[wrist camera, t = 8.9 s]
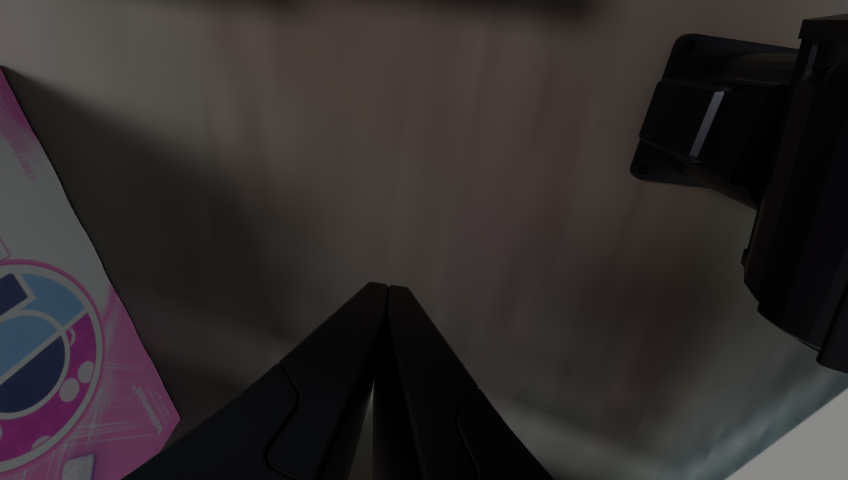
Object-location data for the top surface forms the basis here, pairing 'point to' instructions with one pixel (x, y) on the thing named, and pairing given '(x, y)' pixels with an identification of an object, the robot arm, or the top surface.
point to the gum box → (64, 335)
